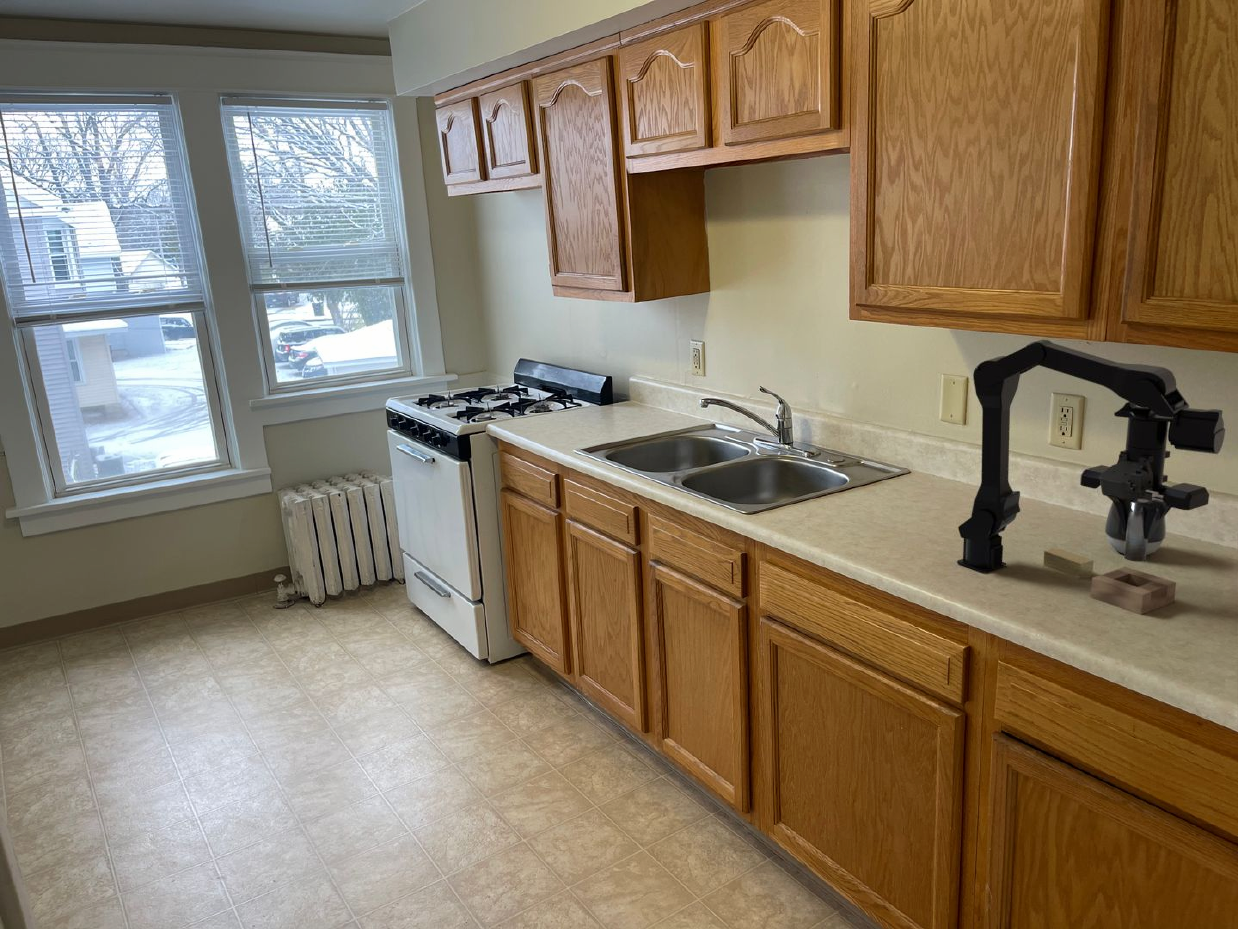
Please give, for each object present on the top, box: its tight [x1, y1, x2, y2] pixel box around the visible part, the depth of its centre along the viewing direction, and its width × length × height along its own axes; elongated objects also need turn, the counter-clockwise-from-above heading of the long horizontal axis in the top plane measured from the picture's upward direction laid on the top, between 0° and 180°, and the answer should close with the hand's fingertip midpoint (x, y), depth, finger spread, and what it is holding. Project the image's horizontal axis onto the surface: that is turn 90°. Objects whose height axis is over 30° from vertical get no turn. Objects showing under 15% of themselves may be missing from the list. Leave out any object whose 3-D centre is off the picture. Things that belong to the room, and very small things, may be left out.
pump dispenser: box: [1104, 488, 1167, 556], centre depth 175 cm, size 10×10×15 cm
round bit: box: [1123, 499, 1149, 563], centre depth 153 cm, size 3×3×10 cm
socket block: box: [1090, 566, 1177, 615], centre depth 156 cm, size 9×9×4 cm
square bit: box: [1042, 547, 1094, 580], centre depth 169 cm, size 8×3×3 cm, turn 25°
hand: (1137, 535), depth 153 cm, fingers closed on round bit, 3 cm apart
